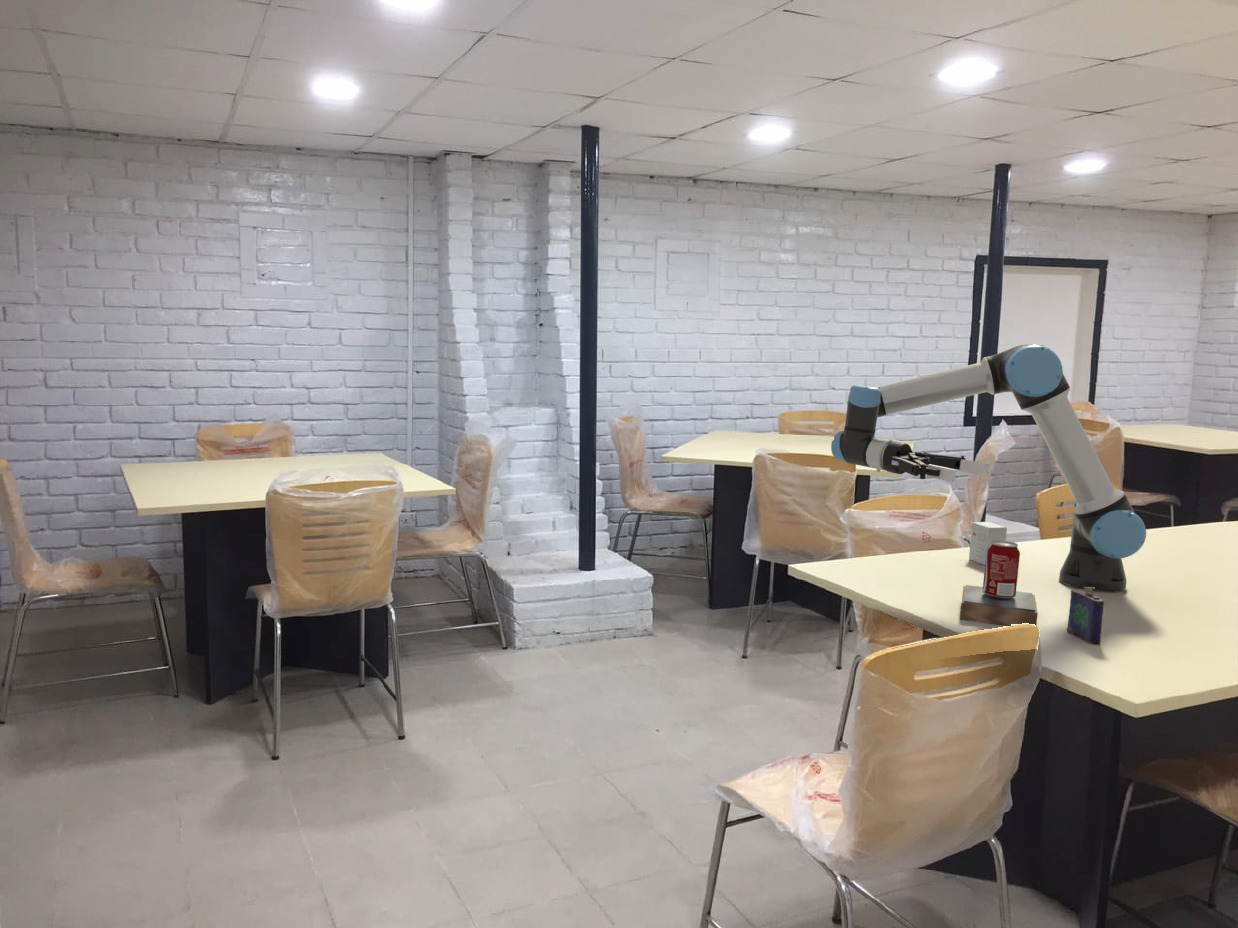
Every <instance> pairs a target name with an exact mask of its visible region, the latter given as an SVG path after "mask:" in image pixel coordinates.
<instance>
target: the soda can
mask: <svg viewBox="0 0 1238 928" xmlns="http://www.w3.org/2000/svg"><path fill="white" fill-rule="evenodd" d="M1018 546H1019V545H1018V543H1017V542H1014V541H1008V540H1006V541H1002V540H993V541H991V545H990V546H989V547H988V548H987V551H986V561H985V565H984V573H983V582H982V587H983V593H984V594H986V595H987V596H988V597H990V598H994V599H999V600H1009V599H1011V598H1014V597H1015V596H1016V591H1017V585H1018V577H1019V567H1020V560H1021V559H1020V557H1021V553H1020V550H1019V548H1018Z"/></svg>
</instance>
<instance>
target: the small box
mask: <svg viewBox="0 0 1238 928" xmlns="http://www.w3.org/2000/svg"><path fill="white" fill-rule="evenodd" d="M970 530H971V531H970V541H969V554H968V555H969V556H968V559H969V560H971V561H972V562H975V561H976V563H977V564H980V565H983V566H985V561H986V551H987V548H988V547H989V546H990V545H991V541H993V540H1002V541H1007V531H1008V528H1007V526H1003V525H1001V524H1000V525H999V524H996V523H993V522H990V521H972V522H971V529H970Z"/></svg>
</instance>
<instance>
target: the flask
mask: <svg viewBox="0 0 1238 928" xmlns="http://www.w3.org/2000/svg"><path fill="white" fill-rule="evenodd" d="M1093 589H1095V587H1093V588H1092V587H1084V589H1083V590H1085V591H1083V590H1080V589H1071V590H1070V600H1069V601H1070V602H1069V603H1070V604H1069V609H1068V610H1069V611H1068V612H1069V613H1068V621H1067V627H1066V631H1067V633H1069V634H1072V635H1073V636H1075V637H1077V638H1078V639H1081V640H1083V641H1085V642H1086V643H1088V644H1091V645H1095V646H1098V645H1101V637H1102V636H1101V635H1102V627H1103V626H1102V625H1103V615H1104V605H1105V601H1104V600H1103V599H1102V598H1100V596H1097V595H1096V592H1095V591H1093Z"/></svg>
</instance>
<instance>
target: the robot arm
mask: <svg viewBox="0 0 1238 928" xmlns="http://www.w3.org/2000/svg"><path fill="white" fill-rule="evenodd" d="M1070 391H1071V386H1070V384H1069V382H1068V380H1067V379H1066V376H1065V375H1064V371H1063V365H1062V361H1061V359H1060V358H1059V356H1058V355H1057V353H1056V352H1055V351H1053V350H1051V348H1049V347H1047V346H1044V345H1042V344H1035V343H1033V344H1032V343H1031V344H1021V345H1017V346H1014V347H1012V348H1009V349H1007V350H1005V351H1001V352H999V353H998V352H997V353H995V354H992V355H990V356H988V355H987V356H985V357H983V358H982V359H981V361H980V362H977V363H973V364H967V365H964V366H961V367H956V368H953V369H948V370H944V371H940V372H936V373H931V374H927V375H923V376H919V377H915V378H911V379H907V380H902V381H899V382H895V383H890V384H886V385H882V386H879V387H875V386H869V385H859V384H853V385H851V386H850V389H849V394H848V396H847V403H846V406H847V407H846V414H845V425H844V428H843V430H841V431H839V432H837V433H836V434H835V435H834V436H833V440H832V441H831V444H830V445H831V446H830V447H831V448H830V449H831V453H832V456H833V457H834V458H835V459H836V460H838V461H840V462H845V463H847V464H850V465H856V466H861V467H865V468H870V469H875V471H876V472H878V473H879V472H881V471H885V472H889V473H890V474H891V473H892V474H896V475H903V474H904V473H906V474H909V475H911V476H914V477H919V479H920V480H926V477H928V478H932V479H937V480H941V481H946V482H951V483H955V482H956V474H957V471H959V472H963V473H967V474H973V475H975V476H976V475H977V476H983V477H987V476H988V473H989V464H988V463H983V462H979V461H973V460H967V459H966V458H965V455H961V456H952V455H944V454H943V455H941V454H933V453H929V452H919V451H914V452H913V449H912V448H911V445H909V444H908V443H906V442H902V441H897V440H896V441H895V440H892V439H887V438H883V437H881V438H880V437H875V435H876V428H877V422H878V418H880V417H884V416H887V415H893V414H896V413H901V412H905V411H910V410H914V409H920V408H923V407H927V406H932V405H936V404H941V403H946V402H950V401H954V400H958V399H962V398H966V397H971V396H974V395H975V396H976V395H979V394H983V393H984V394H985V393H988V394H990V395H993V396H994V395H997V394H1003V393H1010V392H1011V393H1012V394H1013V396H1014V398H1015V400H1016V402H1017V404H1018V406H1019V408H1020V409H1021V411H1023V412H1027V413H1028V414H1031V416H1032V418H1033V421H1034V422H1035V424H1036V426H1037V428H1038V430H1039V432H1040V433H1041V436H1042V438H1043V440H1044V441H1045V443H1046V445H1047V447H1048V449H1049V451H1050V453H1051V455H1052V457H1053V459H1054V461H1055V463H1056V465H1057V467H1058V468H1059V470H1060V472H1061V474H1062V477H1063V478H1064V481H1065V483H1066V484H1067V486H1068V489H1069V490H1070V493H1071V494H1072V496H1073V498H1074V500H1075V501H1074V503H1073V509H1074V510H1073V516H1072V519H1073V520H1072V527H1071V528H1072V529H1071V537H1070V547H1069V552H1068V554H1067V556H1066V558H1065V560H1064V563H1063V564H1062V567H1061V568H1060V570H1059V571H1060V572H1059V574H1058V575H1059V577H1058V581H1059V582H1060V583H1062V584H1065V585H1067V586H1070V587H1073V588H1077V589H1082V590H1085V589H1084V587H1092V588H1093V587H1095V589H1093V590H1092V591H1093V592H1095V591H1096V592H1106V593H1107V592H1108V593H1115V592H1114V591H1119V592H1121V591H1120V590H1124V591H1125V590H1126V589H1127V575H1126V571H1125V568H1124V564H1123V560H1122V559H1126V558H1129V557H1131V556H1133V555H1135V554H1136V553H1138V551H1139V550H1140V549H1141V548H1142V547H1143V546H1144V543H1145V542H1146V537H1147V528H1146V525H1145V523H1144V521H1143V519H1142V518H1141V517H1140V516H1139V515H1138V514H1137V513H1135V511H1134V508H1133V507H1132V505H1131V503H1130V501H1129V499H1128V497H1127V496H1126V494H1125V492H1124V491H1123V490H1122V489H1117V488H1115V487H1114V485H1113V483H1112V482H1111V480H1110V477H1109V476H1108V474H1107V472H1106V469H1105V468H1104V466H1103V464H1102V462H1101V461H1100V458H1099V457H1098V454H1097V453H1096V451H1095V449H1094V446H1093V445H1092V443H1091V441H1090V439H1089V437H1088V434H1087V433H1086V431H1085V429H1084V427H1083V425H1082V424H1081V422H1080V420H1079V418H1078V416H1077V413H1076V412H1075V409H1074V408H1073V406H1072V404H1071V402H1070V400H1069V398H1068V395H1069V392H1070Z"/></svg>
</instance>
